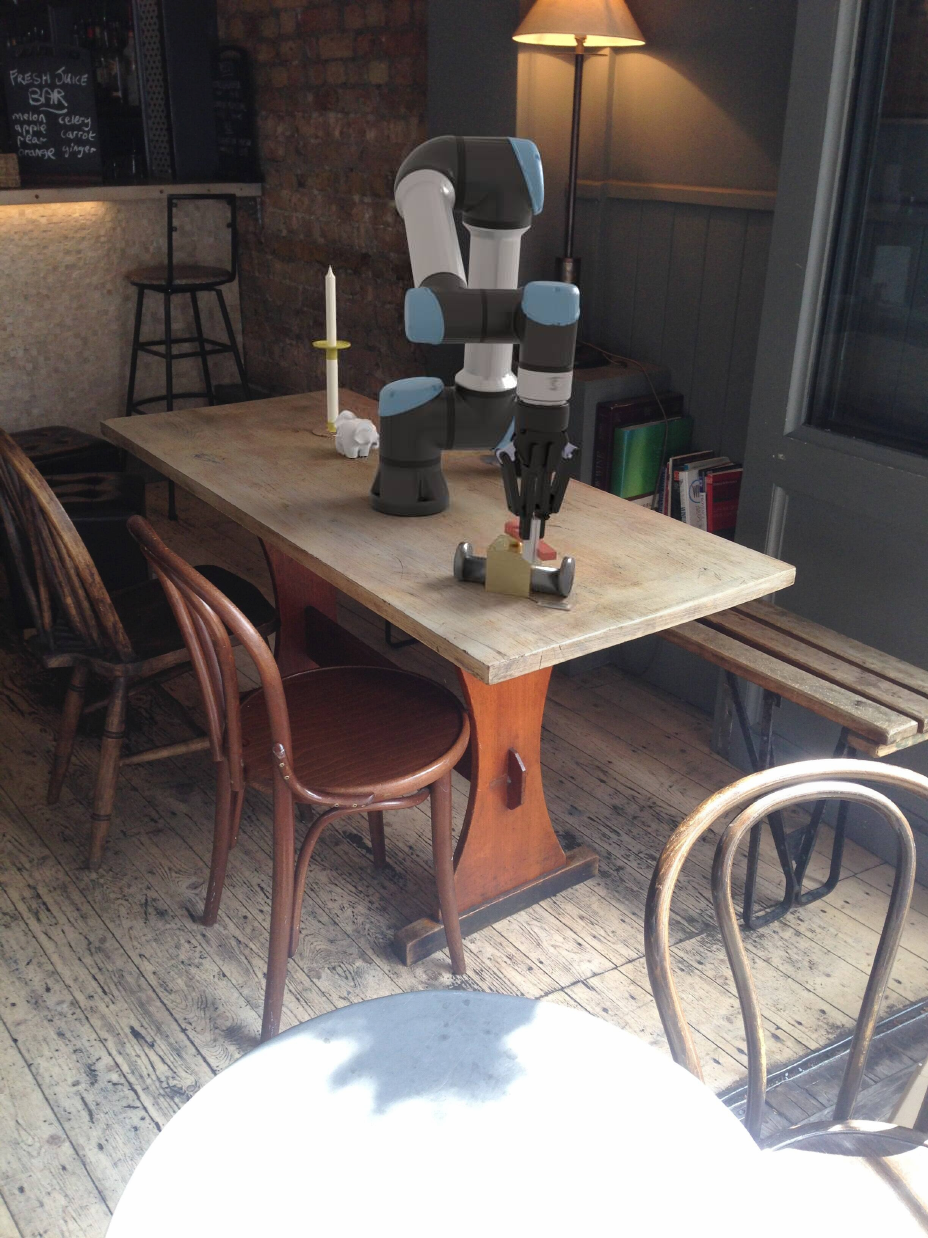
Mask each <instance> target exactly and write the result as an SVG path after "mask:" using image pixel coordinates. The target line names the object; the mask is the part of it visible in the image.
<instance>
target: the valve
mask: <svg viewBox="0 0 928 1238" xmlns="http://www.w3.org/2000/svg"><path fill="white" fill-rule="evenodd" d="M522 548H523V544H522V543H521V542H519V541H518V540H517V539H516V538H515V537H514V536H511V535H507V534H499V535H498V536H497V537H496V538H495V539H494V540H493V542H491V544H490V545H488V547H487V548H486V556H477V555H474V554H473V553H474V550H473V545H472V543H471V542H469V541H460V542H459V543H458V545H457V547H456V550H455V553H454V557H453V558H454V559H453V570H452V571H453V576H454V579H456V580H460V581H469V582H470V581H471V582H477V583H483V584H485V589H484V591H485V592H489V593H495V594H503V595H508V596H516V597H521V598H527V599H530V597H531V596H532V594H533V593H534V591H535V592H540V593H541V592H542V593H548V594H555V595H559V596H563V597H569V596H570V594H571V592H572V589H573V585H574V580H575V574H576V560H575V558H574V557H571V556H564V557H563V558H562V561H561V564H560V568H559V567H552V566H547V565H543V561H542V560H540V559H539V558H538V557H537V563H528V562H527V561H526V560H525V559H524V558H522ZM536 605H537V606H539V607H547V608H552V609H553V608H554V609H558V610H564V611H565V610H566V611H571V609H572V607H573V604H572V603H571V604H570V603H563V602H558V601H552V600H551V601H550V600H547V599H546V600H545V599H544V600H543V599H539V600H538V602H537V603H536Z"/></svg>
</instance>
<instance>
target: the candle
mask: <svg viewBox="0 0 928 1238" xmlns="http://www.w3.org/2000/svg"><path fill="white" fill-rule="evenodd" d="M336 299H337V298H336V276H335V275H334V273H333V270H332V267H331V266H329V267H328V272H327V274H326V275H325V309H326V310H325V312H326V316H325V317H326V319H325V320H326V340H317V341H314V342H312V345H313V347H314V348H319V349H325V351H326V353H325V357H326V359H325V360H326V397H327V398H326V403H327V404H326V405H327V407H326V408H327V426H328V429H327V430H326V431H330V432H336V430H335V427H334V423H335V421H336V419H337V417H338V416H339V385H338V384H339V381H338V373H339V372H338V349H345V348H349V347H351V342H349V341H345V340H337V320H336V319H337V307H336V302H337V301H336Z"/></svg>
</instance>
